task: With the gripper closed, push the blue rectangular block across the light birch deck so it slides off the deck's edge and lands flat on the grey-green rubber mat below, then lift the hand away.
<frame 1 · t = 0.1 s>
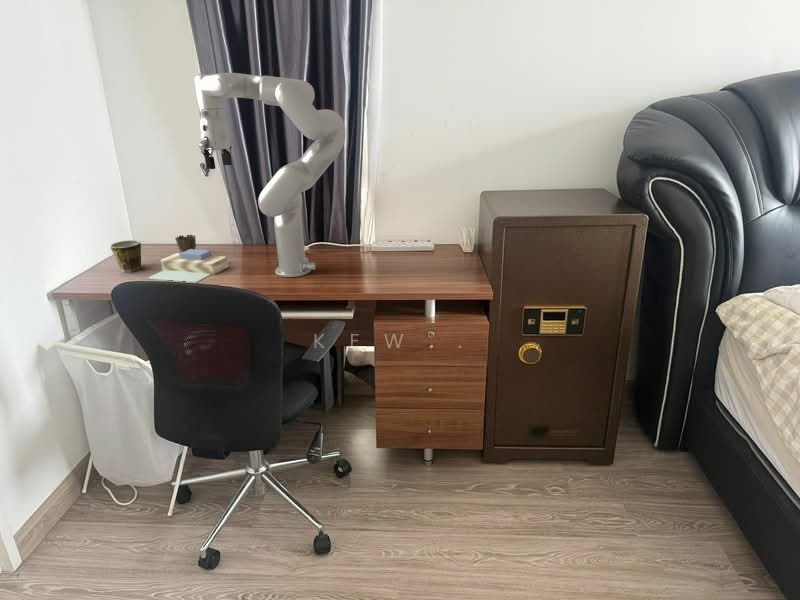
hand: (219, 166, 180), 37 cm above the table, fingers open, 9 cm apart
cup: (188, 256, 209), on the table
blue rectangular block: (196, 257, 193), point 4 cm above the table, touching deck
ceramic cup: (130, 271, 193), on the table
mat: (179, 276, 185), on the table
deck: (195, 268, 193), on the table
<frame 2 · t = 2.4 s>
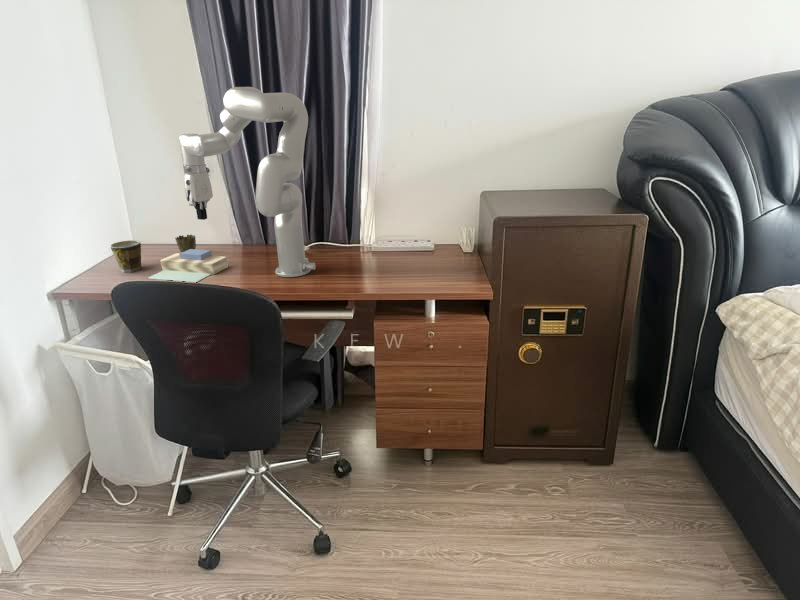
hand: (202, 218, 196), 17 cm above the table, fingers closed
nothing on the table moved.
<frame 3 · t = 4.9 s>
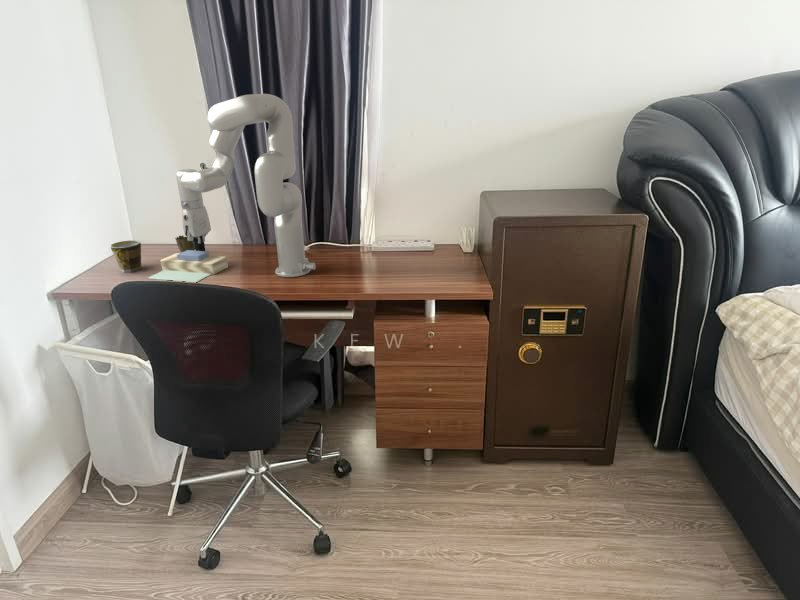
hand: (200, 252, 196), 5 cm above the table, fingers closed
blue rectangular block: (193, 258, 192), point 4 cm above the table, touching deck, gripper
everything else where it was.
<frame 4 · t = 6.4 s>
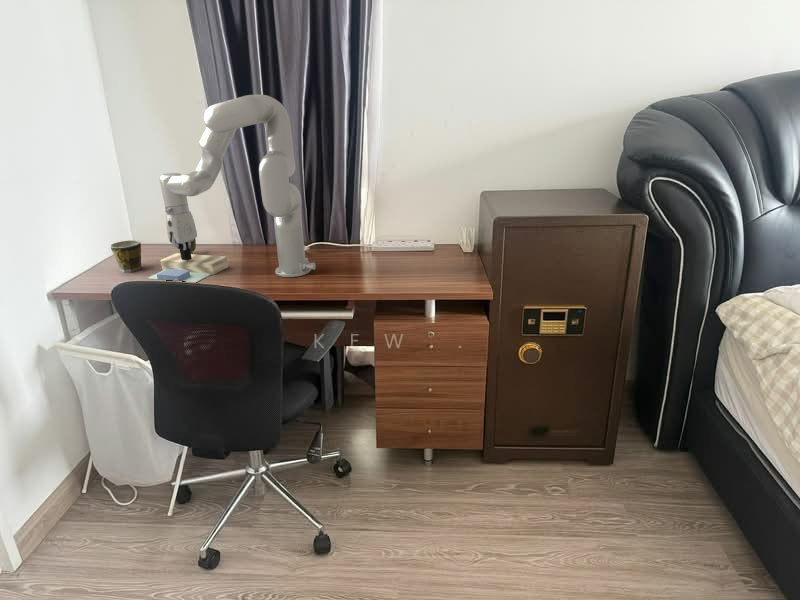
hand: (186, 259, 188), 5 cm above the table, fingers closed
blue rectangular block: (173, 272, 183), point 2 cm above the table, tilted 180°, touching mat
everything else where it was.
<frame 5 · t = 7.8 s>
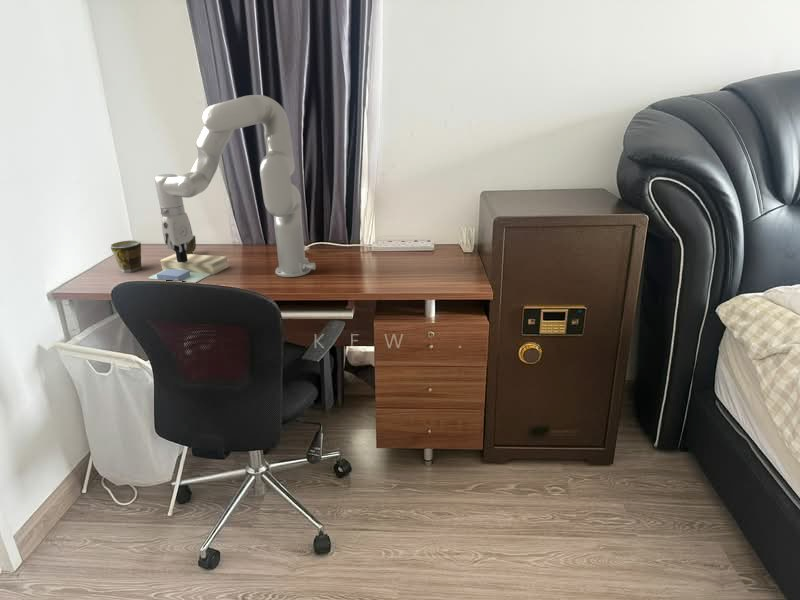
hand: (182, 261, 186), 5 cm above the table, fingers closed
nothing on the table moved.
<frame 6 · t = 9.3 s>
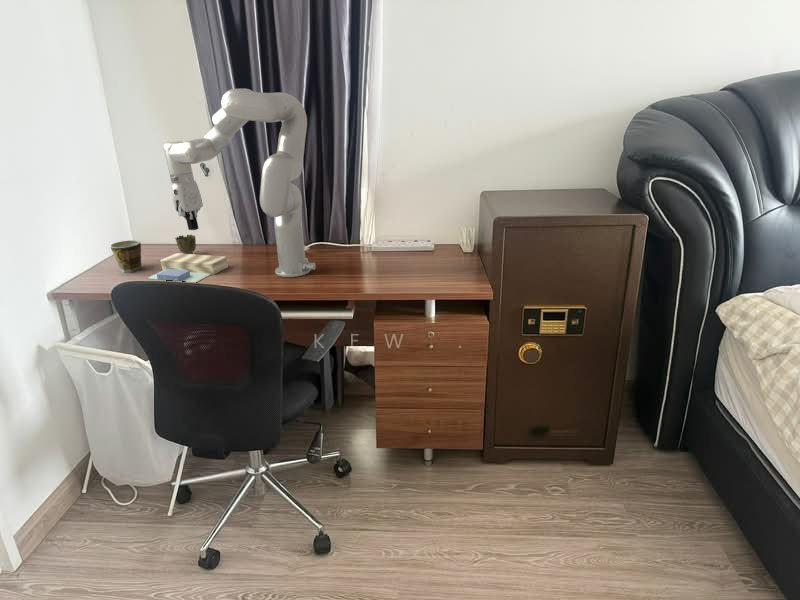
hand: (193, 229, 189), 15 cm above the table, fingers closed
nothing on the table moved.
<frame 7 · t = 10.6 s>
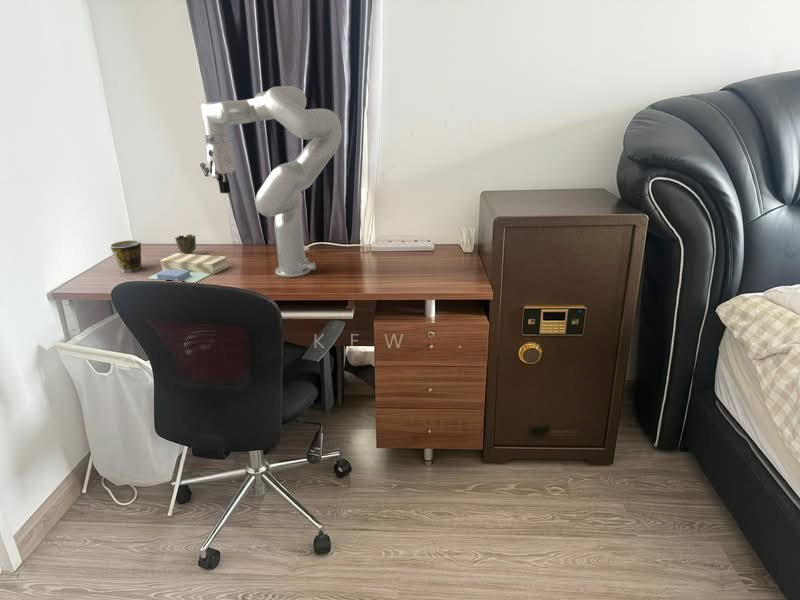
hand: (225, 192, 188), 27 cm above the table, fingers closed
nothing on the table moved.
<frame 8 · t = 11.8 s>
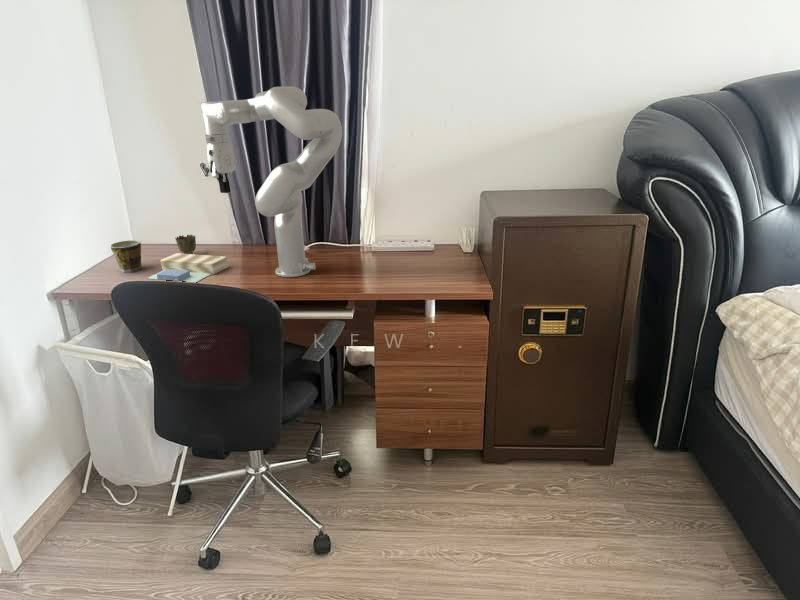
hand: (225, 192, 188), 27 cm above the table, fingers closed
nothing on the table moved.
at the end: blue rectangular block point 2.3 cm above the table; blue rectangular block inside the target area on the mat (2.2 cm from its centre), point 2.3 cm above the mat's base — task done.
